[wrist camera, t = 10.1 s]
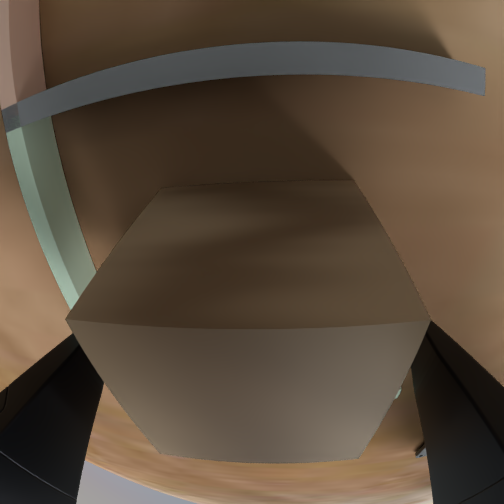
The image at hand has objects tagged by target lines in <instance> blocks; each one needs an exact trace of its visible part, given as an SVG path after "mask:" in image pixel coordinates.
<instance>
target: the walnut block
mask: <svg viewBox="0 0 504 504" xmlns="http://www.w3.org/2000/svg"><path fill="white" fill-rule="evenodd" d="M65 320H66V321H67V323H68V325H69V327H70V329H71V330H72V332H73V334H74V336H75V337H76V339H77V341H78V342H79V344H80V346H81V347H82V349H83V351H84V352H85V354H86V355H87V357H88V359H89V360H90V362H91V363H92V365H93V366H94V368H95V369H96V371H97V372H98V374H99V375H100V377H101V378H102V380H103V381H104V383H105V384H106V386H107V387H108V389H109V390H110V391H111V393H112V394H113V396H114V397H115V398H116V400H117V401H118V402H119V404H120V405H121V406H122V408H123V409H124V410H125V412H126V413H127V414H128V416H129V417H130V418H131V419H132V421H133V422H134V423H135V425H136V426H137V427H138V428H139V429H140V431H141V432H142V433H143V434H144V436H145V437H146V438H147V439H148V440H149V441H150V443H151V444H152V445H153V446H154V447H155V448H156V450H157V451H158V452H159V453H160V454H166V455H173V456H179V457H187V458H195V459H204V460H214V461H226V462H242V463H311V462H327V461H339V460H349V459H358V458H359V457H360V456H361V454H362V453H363V451H364V449H365V448H366V446H367V445H368V443H369V442H370V440H371V438H372V437H373V435H374V434H375V432H376V430H377V429H378V427H379V425H380V424H381V422H382V420H383V418H384V417H385V415H386V413H387V411H388V410H389V408H390V406H391V404H392V402H393V400H394V399H395V397H396V395H397V393H398V391H399V389H400V387H401V385H402V383H403V381H404V379H405V377H406V375H407V373H408V371H409V369H410V367H411V365H412V363H413V360H414V358H415V356H416V354H417V352H418V349H419V347H420V345H421V343H422V340H423V338H424V335H425V333H426V331H427V328H428V326H429V323H430V321H431V319H430V317H429V315H428V312H427V310H426V308H425V306H424V304H423V302H422V300H421V298H420V296H419V294H418V292H417V290H416V288H415V286H414V284H413V282H412V280H411V278H410V276H409V274H408V272H407V270H406V268H405V266H404V264H403V262H402V260H401V259H400V257H399V255H398V253H397V251H396V249H395V248H394V246H393V244H392V242H391V240H390V239H389V237H388V235H387V233H386V232H385V230H384V228H383V226H382V225H381V223H380V221H379V220H378V218H377V216H376V215H375V213H374V211H373V210H372V208H371V206H370V205H369V203H368V201H367V200H366V198H365V197H364V195H363V193H362V192H361V190H360V189H359V187H358V186H357V184H356V182H355V181H354V180H300V181H264V182H241V183H223V184H207V185H193V186H180V187H168V188H161V189H160V191H159V192H158V193H157V194H156V195H155V197H154V198H153V199H152V200H151V201H150V203H149V204H148V205H147V206H146V208H145V209H144V210H143V211H142V212H141V214H140V215H139V216H138V217H137V219H136V220H135V221H134V223H133V224H132V225H131V226H130V228H129V229H128V230H127V232H126V233H125V234H124V235H123V237H122V238H121V239H120V241H119V242H118V243H117V245H116V246H115V247H114V249H113V250H112V251H111V253H110V254H109V256H108V257H107V258H106V260H105V261H104V262H103V264H102V265H101V267H100V268H99V269H98V271H97V272H96V274H95V275H94V277H93V278H92V279H91V281H90V282H89V284H88V285H87V287H86V288H85V290H84V291H83V293H82V294H81V296H80V297H79V299H78V300H77V302H76V303H75V305H74V306H73V308H72V309H71V311H70V312H69V314H68V316H67V317H66V319H65Z"/></svg>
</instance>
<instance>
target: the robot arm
mask: <svg viewBox="0 0 504 504" xmlns="http://www.w3.org/2000/svg"><path fill="white" fill-rule="evenodd" d="M411 370H412V378H413V386H414V393H415V398H416V403H417V407H418V412H419V417H420V421H421V426H422V431H423V437H424V442H425V444H424V445H423V446H422V447H421V448H420V449H419V450H418V451H417V452H416V453H415V455H416V458H419V457H424V456H427V460H428V466H429V473H430V480H431V487H432V496H433V504H504V387H503V386H502V385H501V384H500V383H499V382H498V381H497V380H496V379H495V378H494V377H493V376H492V375H491V374H490V373H489V372H488V371H487V370H486V369H485V368H483V367H482V366H481V365H480V364H479V363H478V362H477V361H476V360H475V359H474V358H473V357H472V356H471V355H470V354H469V353H467V352H466V351H465V350H464V349H463V348H462V347H461V346H460V345H459V344H458V343H457V342H455V341H454V340H453V339H452V338H451V337H450V336H449V335H448V334H447V333H445V332H444V331H443V330H442V329H441V328H440V327H439V326H437V325H436V324H435V323H434V322H433V321H432V320H431V321H430V323H429V326H428V328H427V331H426V333H425V335H424V338H423V340H422V343H421V345H420V347H419V349H418V352H417V354H416V356H415V358H414V360H413V363H412V365H411ZM103 385H104V381H103V380H102V378H101V377H100V375H99V374H98V372H97V371H96V369H95V368H94V366H93V365H92V363H91V362H90V360H89V359H88V357H87V355H86V354H85V352H84V351H83V349H82V347H81V346H80V344H79V342H78V341H77V339H76V337H75V336H74V334H73V333H72V334H71V335H70V336H69V337H67V338H66V339H65V340H64V341H62V342H61V343H60V344H59V345H57V346H56V347H55V348H54V349H52V350H51V351H50V352H49V353H47V354H46V355H45V356H44V357H42V358H41V359H40V360H39V361H37V362H36V363H35V364H34V365H33V366H31V367H30V368H29V369H28V370H27V371H25V372H24V373H23V374H22V375H20V376H19V377H18V378H17V379H16V380H14V381H13V382H12V383H11V384H10V385H9V386H8V387H6V388H5V389H4V390H3V391H1V392H0V504H76V502H77V500H76V499H77V495H78V490H79V485H80V479H81V475H82V470H83V465H84V461H85V456H86V452H87V447H88V443H89V439H90V435H91V431H92V427H93V423H94V419H95V415H96V412H97V408H98V404H99V401H100V397H101V394H102V390H103Z"/></svg>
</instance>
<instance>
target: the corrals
mask: <svg viewBox="0 0 504 504" xmlns="http://www.w3.org/2000/svg"><path fill="white" fill-rule="evenodd" d="M294 74H315V75H346V76H362V77H374V78H385V79H394V80H402V81H409V82H416V83H423V84H429V85H435V86H440V87H446V88H451V89H456V90H460V91H465V92H469V93H474V94H478V95H482V96H485V68H483V67H479V66H476V65H473V64H469V63H465V62H461V61H458V60H454V59H449V58H445V57H441V56H436V55H431V54H426V53H421V52H416V51H410V50H404V49H397V48H390V47H382V46H374V45H364V44H352V43H337V42H304V41H296V42H263V43H247V44H235V45H226V46H217V47H209V48H202V49H195V50H188V51H182V52H177V53H171V54H166V55H161V56H156V57H152V58H147V59H143V60H139V61H134V62H130V63H126V64H123V65H119V66H115V67H112V68H108V69H105V70H101V71H98V72H95V73H92V74H89V75H86V76H83V77H80V78H77V79H74V80H71V81H68V82H65V83H63V84H60V85H57V86H55V87H52V88H50V89H47V90H46V83H45V76H44V68H43V59H42V49H41V36H40V18H39V0H0V104H1V110H2V116H3V121H4V126H5V131H6V135H7V140H8V144H9V148H10V153H11V156H12V160H13V164H14V168H15V171H16V175H17V178H18V182H19V185H20V188H21V192H22V195H23V198H24V201H25V204H26V207H27V210H28V213H29V215H30V218H31V221H32V224H33V226H34V229H35V232H36V234H37V237H38V239H39V242H40V244H41V247H42V249H43V252H44V254H45V257H46V259H47V261H48V264H49V266H50V268H51V270H52V272H53V275H54V277H55V279H56V281H57V283H58V285H59V288H60V290H61V292H62V294H63V296H64V298H65V300H66V302H67V304H68V306H69V308H70V310H71V309H72V308H73V306H74V305H75V303H76V302H77V300H78V299H79V297H80V296H81V294H82V293H83V291H84V290H85V288H86V287H87V285H88V284H89V282H90V281H91V279H92V278H93V277H94V275H95V274H96V270H95V267H94V264H93V262H92V259H91V257H90V254H89V251H88V248H87V246H86V243H85V240H84V237H83V234H82V231H81V228H80V226H79V222H78V219H77V216H76V213H75V210H74V207H73V204H72V200H71V197H70V194H69V190H68V187H67V183H66V179H65V176H64V172H63V168H62V164H61V160H60V156H59V152H58V148H57V143H56V139H55V134H54V129H53V124H52V119H51V116H52V115H55V114H58V113H61V112H64V111H67V110H70V109H74V108H77V107H80V106H84V105H87V104H91V103H94V102H98V101H102V100H106V99H109V98H113V97H118V96H122V95H126V94H131V93H135V92H140V91H145V90H150V89H155V88H160V87H166V86H172V85H178V84H184V83H191V82H198V81H206V80H215V79H224V78H235V77H247V76H263V75H294ZM401 390H402V388H401V387H400V389H399V391H398V393H397V395H396V397H395V399H396V398H398V396H399V394H400V392H401Z"/></svg>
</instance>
